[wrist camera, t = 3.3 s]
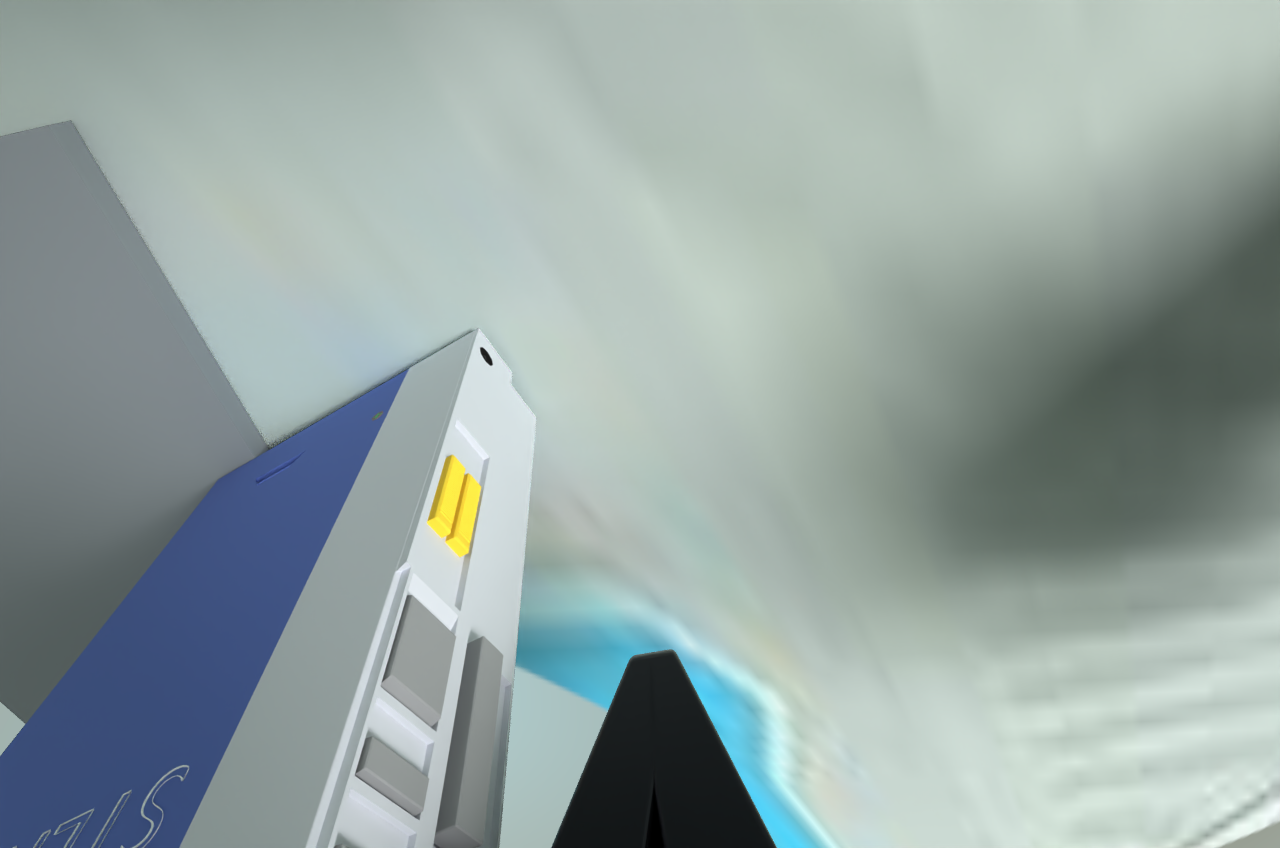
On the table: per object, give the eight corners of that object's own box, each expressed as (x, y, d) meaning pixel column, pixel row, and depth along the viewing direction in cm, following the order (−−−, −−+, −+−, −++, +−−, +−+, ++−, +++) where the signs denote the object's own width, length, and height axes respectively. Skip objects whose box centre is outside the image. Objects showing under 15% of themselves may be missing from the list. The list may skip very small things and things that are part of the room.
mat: (70, 120, 13) (48, 125, 12) (395, 658, 21) (389, 674, 21) (-467, 249, 14) (-510, 258, 13) (49, 716, 22) (36, 733, 21)
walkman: (299, 550, 18) (-75, 1265, 7) (217, 477, 16) (-376, 1227, 6) (549, 415, 16) (514, 1065, 6) (482, 324, 15) (289, 960, 5)
